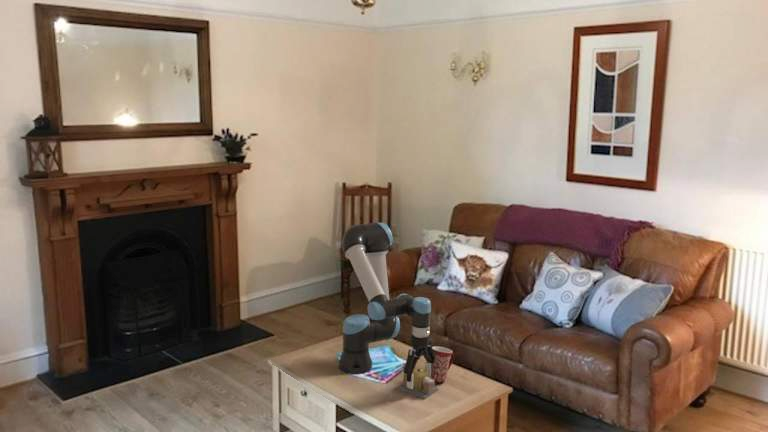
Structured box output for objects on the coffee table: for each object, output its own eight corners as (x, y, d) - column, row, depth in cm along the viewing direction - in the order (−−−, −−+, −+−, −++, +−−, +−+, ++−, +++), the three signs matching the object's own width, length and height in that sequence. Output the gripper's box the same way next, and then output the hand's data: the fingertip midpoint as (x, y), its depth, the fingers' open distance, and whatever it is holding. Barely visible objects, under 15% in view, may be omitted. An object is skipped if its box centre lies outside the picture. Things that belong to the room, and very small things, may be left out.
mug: (436, 383, 271) (442, 352, 270) (422, 376, 278) (427, 346, 277) (456, 382, 279) (462, 351, 279) (442, 375, 286) (447, 345, 285)
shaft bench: (399, 389, 269) (399, 374, 268) (412, 381, 277) (413, 366, 276) (424, 399, 262) (425, 383, 260) (438, 390, 269) (438, 375, 268)
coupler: (411, 388, 269) (411, 369, 267) (417, 384, 272) (417, 366, 270) (420, 391, 266) (421, 373, 264) (426, 387, 269) (427, 369, 268)
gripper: (410, 346, 252) (409, 395, 257) (444, 328, 271) (442, 374, 276) (395, 341, 257) (394, 390, 261) (429, 324, 276) (427, 369, 280)
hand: (418, 382), depth 269 cm, fingers open, 12 cm apart
